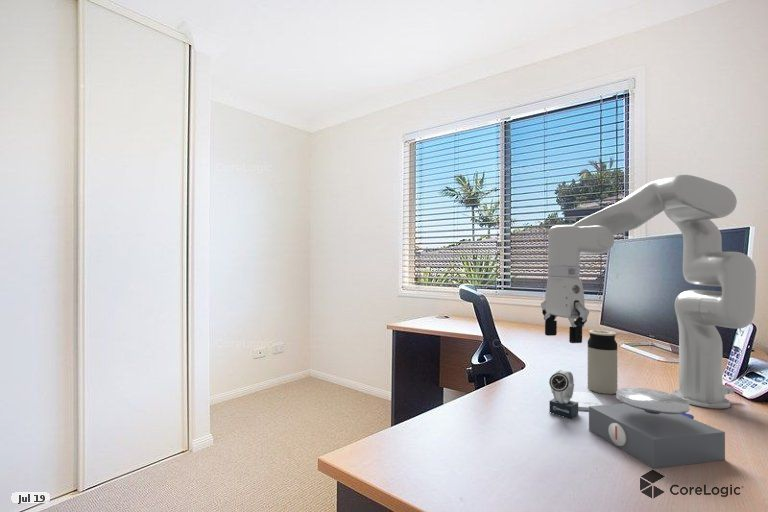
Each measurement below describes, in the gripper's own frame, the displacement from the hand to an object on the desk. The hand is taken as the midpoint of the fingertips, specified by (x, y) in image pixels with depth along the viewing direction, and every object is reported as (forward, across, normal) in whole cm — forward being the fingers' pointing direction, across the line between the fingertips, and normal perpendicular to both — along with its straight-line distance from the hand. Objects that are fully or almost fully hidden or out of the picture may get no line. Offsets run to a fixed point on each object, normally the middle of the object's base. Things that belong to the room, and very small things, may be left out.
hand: (562, 338), depth 99 cm
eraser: (+20, -7, -25) cm, 32 cm away
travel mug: (+19, +14, -25) cm, 34 cm away
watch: (+20, 0, -1) cm, 20 cm away
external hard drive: (+20, +6, -12) cm, 24 cm away
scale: (+19, -18, -9) cm, 28 cm away
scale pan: (+12, -18, -9) cm, 23 cm away
